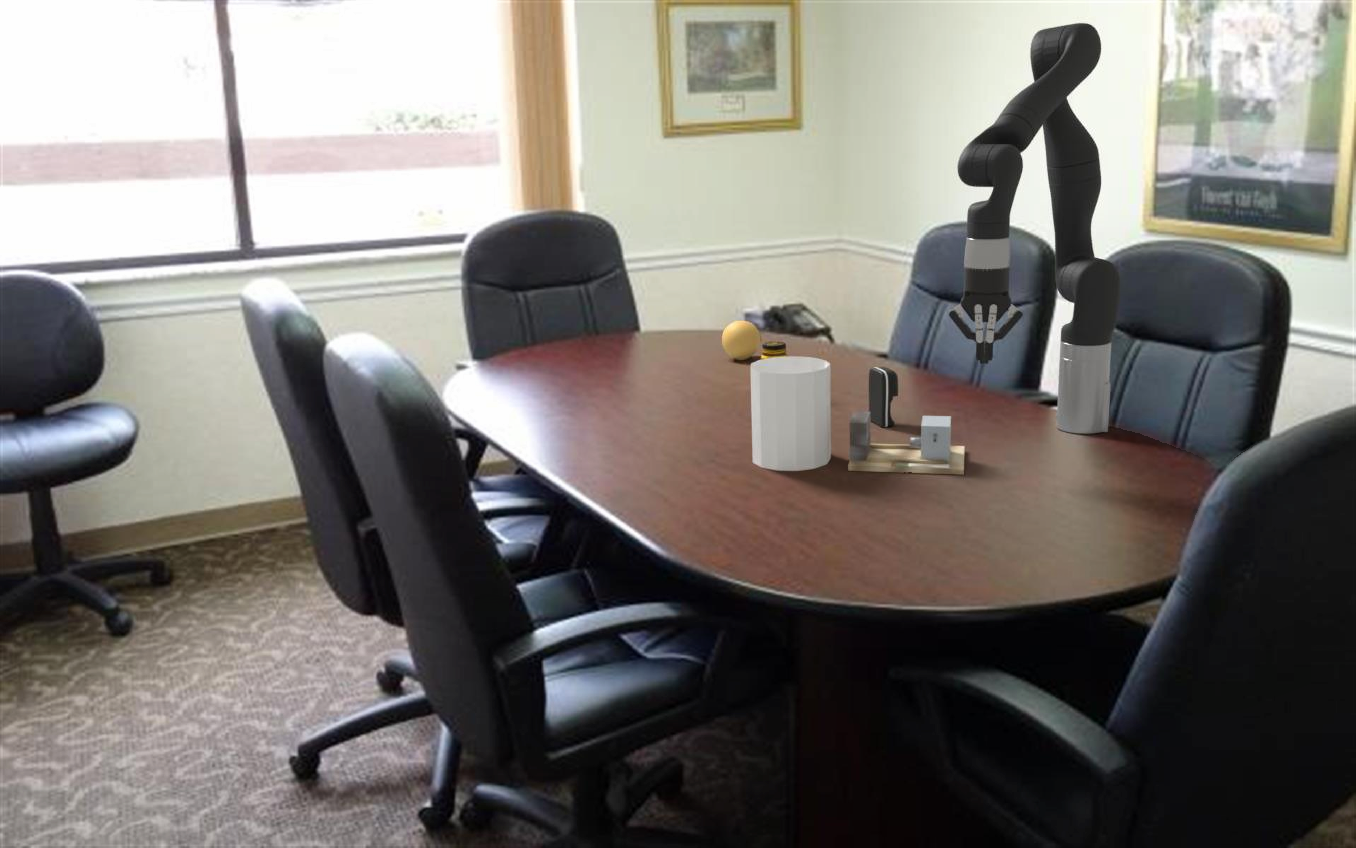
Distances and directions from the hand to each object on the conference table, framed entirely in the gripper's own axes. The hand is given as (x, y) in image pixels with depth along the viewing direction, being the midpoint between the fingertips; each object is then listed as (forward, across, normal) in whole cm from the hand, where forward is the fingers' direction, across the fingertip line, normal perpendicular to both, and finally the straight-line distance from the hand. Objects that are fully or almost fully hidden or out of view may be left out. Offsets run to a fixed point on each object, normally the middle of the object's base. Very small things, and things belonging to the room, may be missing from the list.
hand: (983, 362), depth 208 cm
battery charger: (+19, +19, -25) cm, 36 cm away
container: (+19, +34, +1) cm, 39 cm away
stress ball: (+19, +59, -83) cm, 103 cm away
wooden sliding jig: (+18, +13, 0) cm, 22 cm away
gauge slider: (+17, +9, +2) cm, 20 cm away
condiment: (+19, +45, -47) cm, 68 cm away
